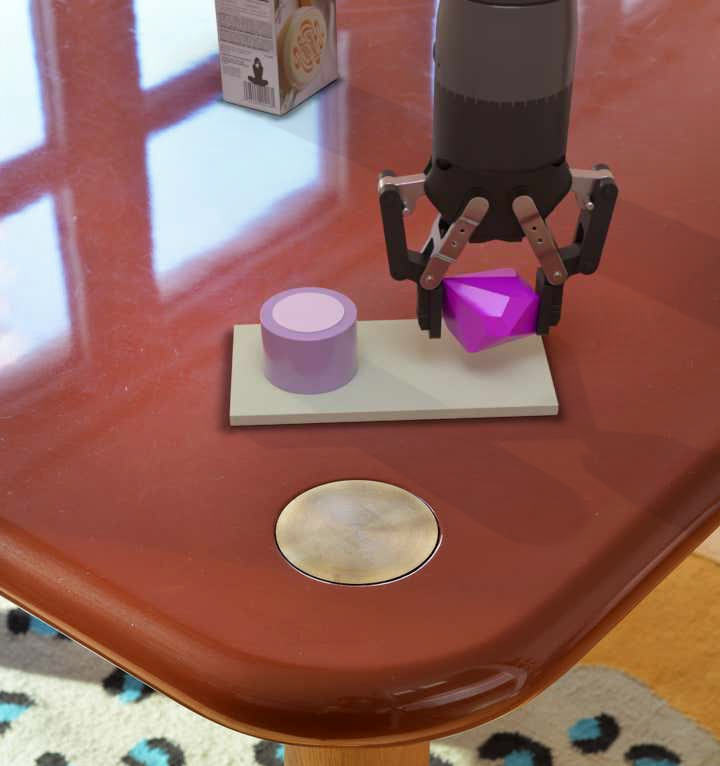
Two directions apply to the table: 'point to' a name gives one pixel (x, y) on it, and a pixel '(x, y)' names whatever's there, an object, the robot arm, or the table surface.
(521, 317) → the crystal
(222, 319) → the table surface
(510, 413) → the board
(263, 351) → the lavender cylindrical tub
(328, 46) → the cookie box
